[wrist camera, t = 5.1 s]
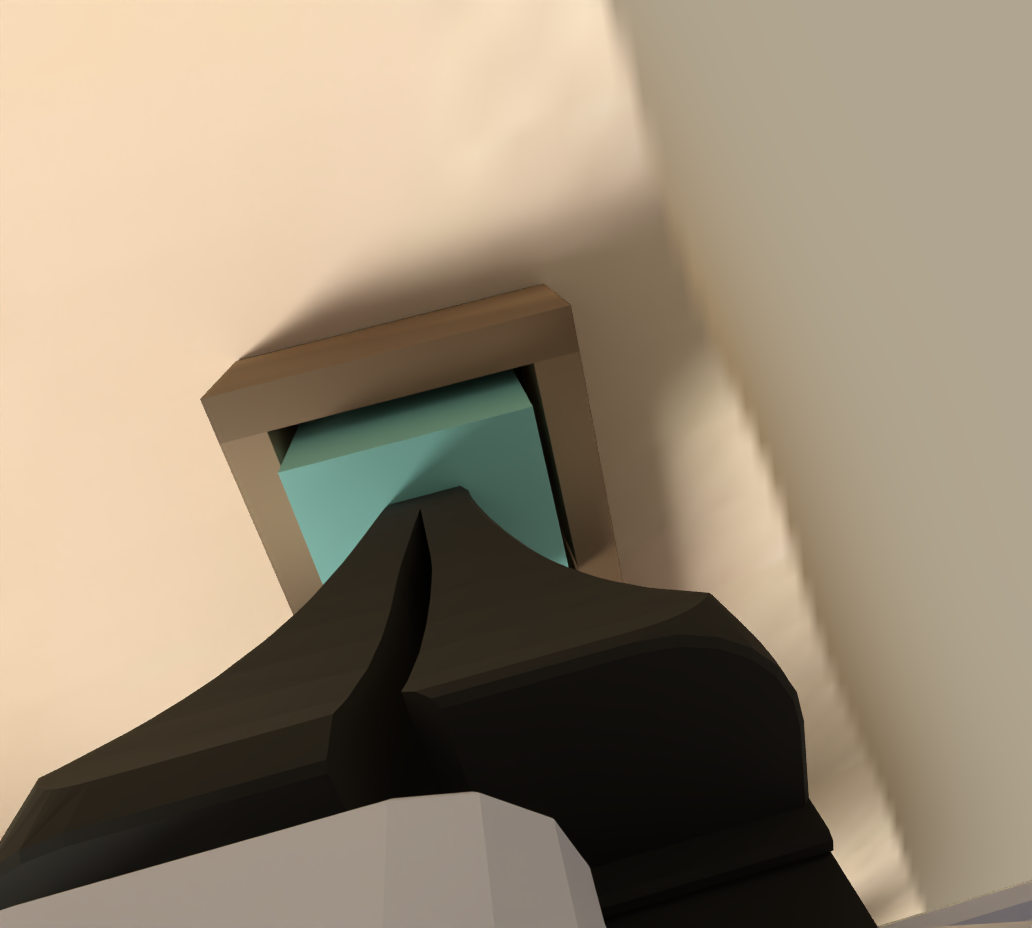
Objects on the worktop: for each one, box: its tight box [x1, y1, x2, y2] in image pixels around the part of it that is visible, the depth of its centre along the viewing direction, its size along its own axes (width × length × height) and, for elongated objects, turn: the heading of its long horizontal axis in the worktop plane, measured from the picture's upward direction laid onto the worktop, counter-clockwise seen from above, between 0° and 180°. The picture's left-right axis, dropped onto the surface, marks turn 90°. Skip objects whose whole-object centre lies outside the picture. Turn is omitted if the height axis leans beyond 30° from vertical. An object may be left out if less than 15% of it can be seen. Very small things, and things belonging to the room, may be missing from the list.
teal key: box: [278, 369, 568, 584], centre depth 12 cm, size 4×4×2 cm
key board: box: [200, 284, 623, 615], centre depth 15 cm, size 11×6×2 cm, turn 13°
